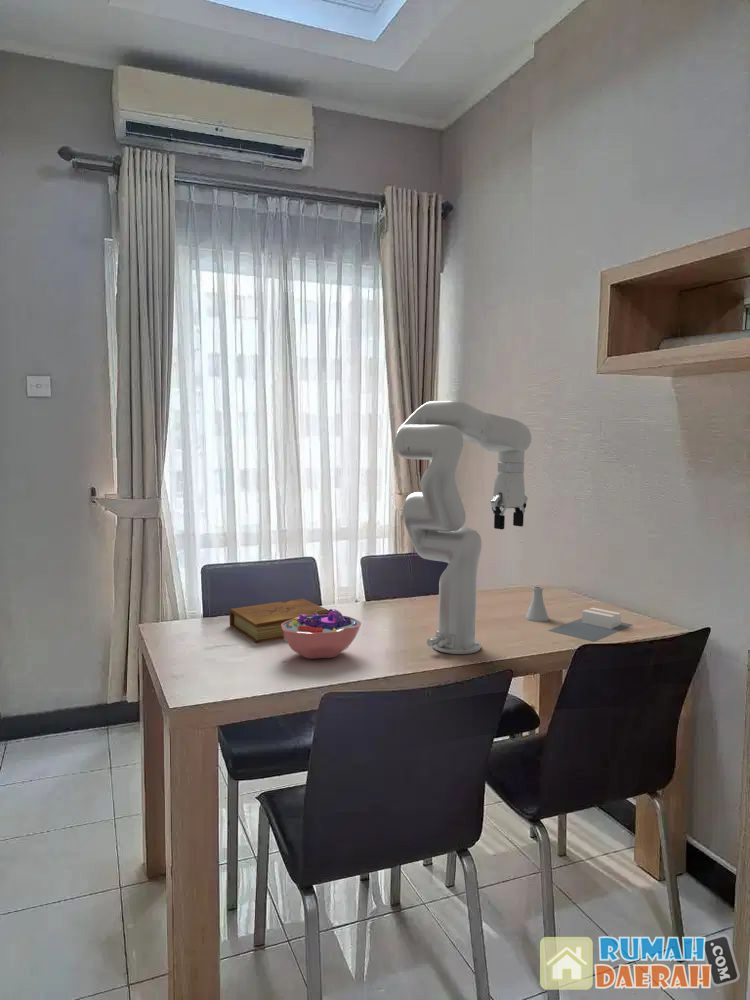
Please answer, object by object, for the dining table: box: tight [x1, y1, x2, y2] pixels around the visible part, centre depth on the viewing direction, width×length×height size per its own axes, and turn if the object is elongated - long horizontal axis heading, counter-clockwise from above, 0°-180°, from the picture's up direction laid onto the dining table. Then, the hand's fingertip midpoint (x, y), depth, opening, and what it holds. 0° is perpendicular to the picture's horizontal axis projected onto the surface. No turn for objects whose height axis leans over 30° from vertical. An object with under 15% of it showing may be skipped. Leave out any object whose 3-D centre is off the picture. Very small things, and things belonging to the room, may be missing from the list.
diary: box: [229, 598, 330, 644], centre depth 193 cm, size 23×19×6 cm
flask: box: [524, 586, 550, 623], centre depth 205 cm, size 7×7×10 cm
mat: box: [547, 617, 633, 643], centre depth 196 cm, size 24×14×1 cm, turn 135°
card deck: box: [581, 607, 622, 629], centre depth 200 cm, size 9×6×4 cm, turn 45°
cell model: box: [281, 608, 362, 660], centre depth 170 cm, size 17×20×11 cm
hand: (508, 527), depth 200 cm, fingers open, 9 cm apart
